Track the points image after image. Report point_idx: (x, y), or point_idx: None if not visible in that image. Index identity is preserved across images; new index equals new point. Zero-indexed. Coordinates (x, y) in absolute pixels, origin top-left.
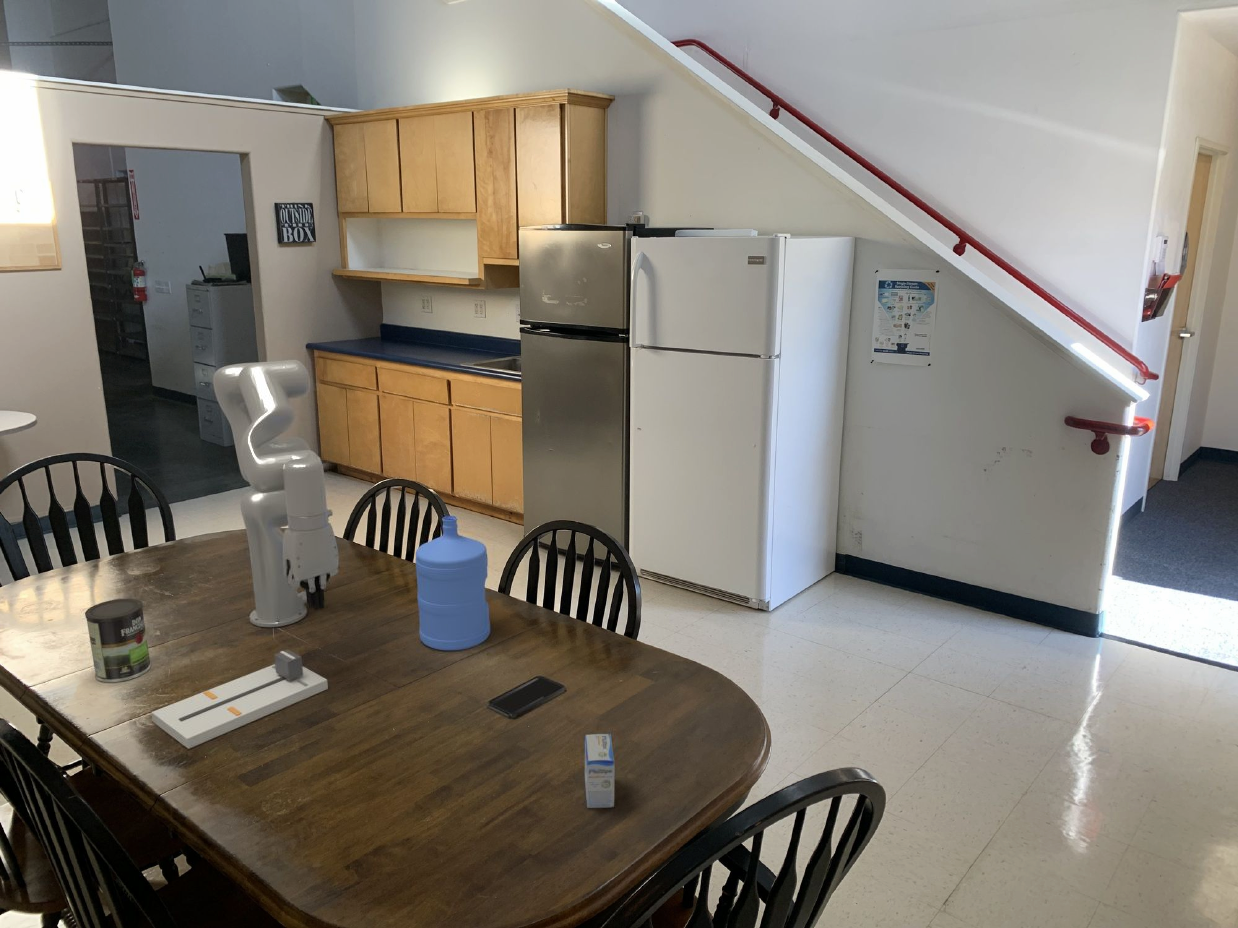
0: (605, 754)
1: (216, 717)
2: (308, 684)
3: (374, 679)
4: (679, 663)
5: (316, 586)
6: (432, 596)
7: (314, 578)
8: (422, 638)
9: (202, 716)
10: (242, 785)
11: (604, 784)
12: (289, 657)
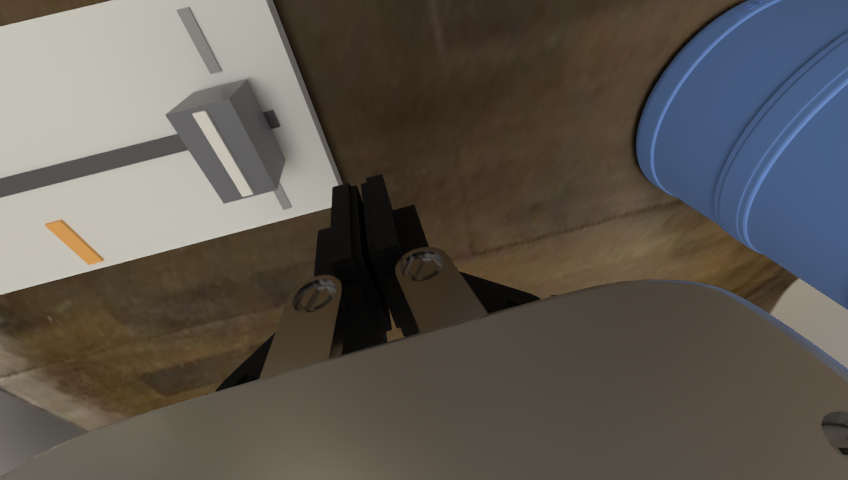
0: None
1: (22, 247)
2: (294, 202)
3: (452, 203)
4: None
5: (399, 321)
6: (774, 232)
7: (416, 325)
8: (654, 106)
9: None
10: (151, 392)
11: None
12: (232, 177)
